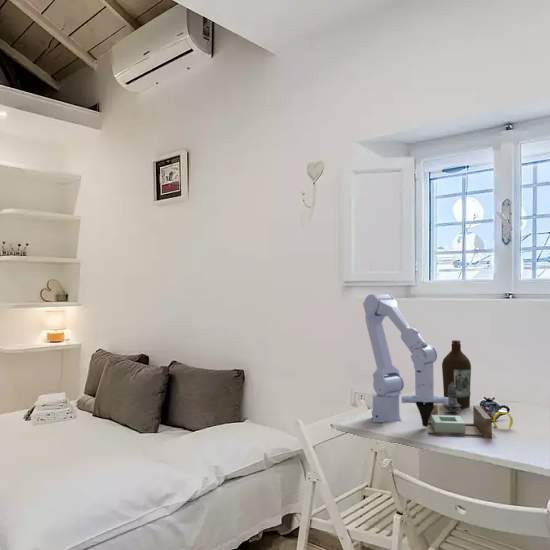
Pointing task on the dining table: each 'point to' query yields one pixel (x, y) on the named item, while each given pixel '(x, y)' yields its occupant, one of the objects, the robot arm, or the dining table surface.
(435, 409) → the oak dowel
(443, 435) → the walnut board
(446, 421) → the sage socket block
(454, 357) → the olive oil
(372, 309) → the robot arm
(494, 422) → the watch
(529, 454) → the dining table surface
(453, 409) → the salt shaker
